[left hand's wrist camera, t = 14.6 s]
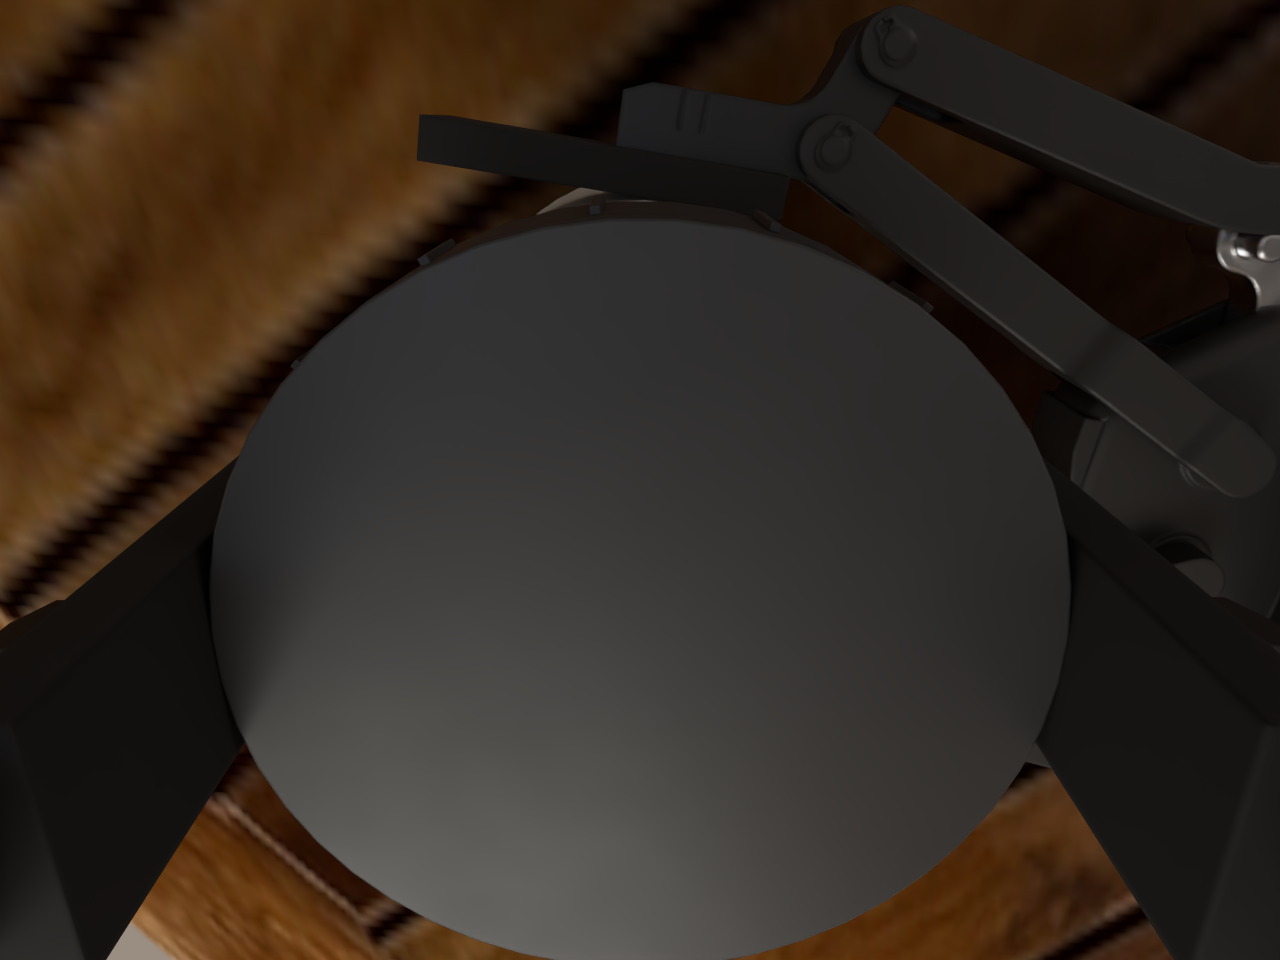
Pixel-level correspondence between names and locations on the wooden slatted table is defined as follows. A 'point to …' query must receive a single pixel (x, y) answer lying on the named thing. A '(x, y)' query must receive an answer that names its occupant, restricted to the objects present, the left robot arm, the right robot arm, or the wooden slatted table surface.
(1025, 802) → the wooden slatted table surface
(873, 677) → the lid
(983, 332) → the wooden slatted table surface
